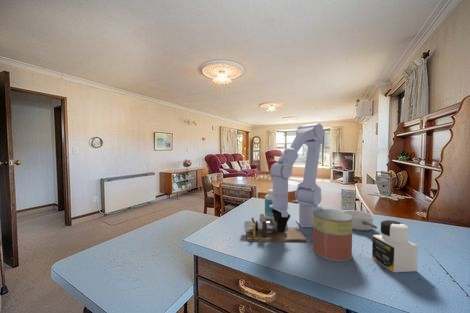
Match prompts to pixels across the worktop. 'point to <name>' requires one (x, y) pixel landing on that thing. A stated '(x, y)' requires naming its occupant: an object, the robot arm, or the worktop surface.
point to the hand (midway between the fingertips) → (279, 229)
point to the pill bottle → (268, 202)
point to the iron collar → (263, 225)
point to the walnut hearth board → (279, 236)
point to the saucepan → (361, 220)
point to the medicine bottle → (395, 247)
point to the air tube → (258, 226)
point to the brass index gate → (253, 229)
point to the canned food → (332, 234)
